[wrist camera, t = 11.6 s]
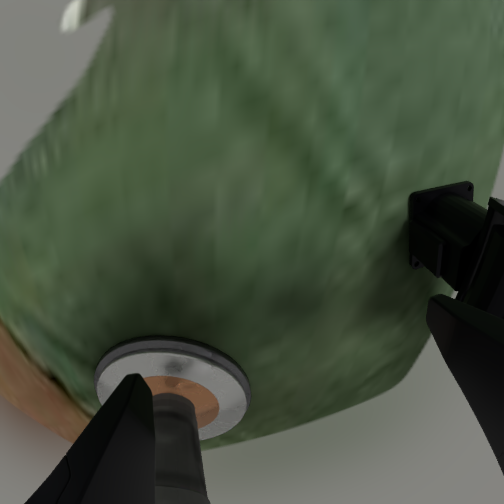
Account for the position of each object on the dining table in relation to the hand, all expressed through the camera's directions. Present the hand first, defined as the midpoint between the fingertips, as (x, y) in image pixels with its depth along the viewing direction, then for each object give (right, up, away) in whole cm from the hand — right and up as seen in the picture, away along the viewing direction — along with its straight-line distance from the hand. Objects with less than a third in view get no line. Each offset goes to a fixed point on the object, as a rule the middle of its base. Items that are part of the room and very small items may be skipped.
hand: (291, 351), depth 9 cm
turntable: (-9, -11, +19) cm, 23 cm away
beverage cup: (-8, -11, +18) cm, 23 cm away
